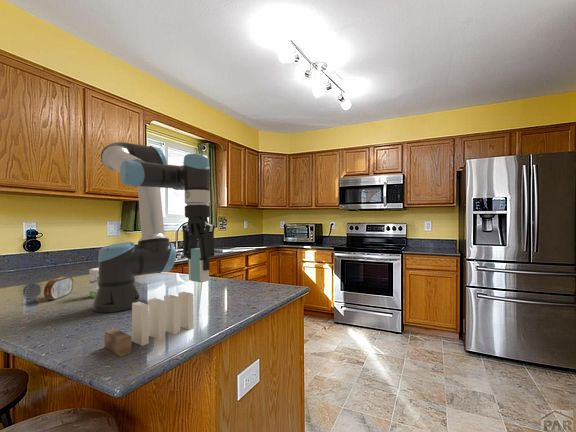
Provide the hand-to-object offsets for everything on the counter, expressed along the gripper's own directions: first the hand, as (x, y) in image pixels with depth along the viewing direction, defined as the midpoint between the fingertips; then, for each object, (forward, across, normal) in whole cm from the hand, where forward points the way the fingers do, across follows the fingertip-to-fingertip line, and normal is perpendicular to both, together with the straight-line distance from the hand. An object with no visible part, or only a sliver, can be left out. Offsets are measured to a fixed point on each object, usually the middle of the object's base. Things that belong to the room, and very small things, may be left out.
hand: (198, 280), depth 92 cm
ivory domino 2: (+13, 0, -13) cm, 19 cm away
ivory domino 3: (+13, 0, -9) cm, 16 cm away
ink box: (+13, -64, -3) cm, 66 cm away
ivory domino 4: (+13, 0, -4) cm, 14 cm away
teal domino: (0, 0, 0) cm, 0 cm away
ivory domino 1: (+13, 0, -18) cm, 22 cm away
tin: (+13, -76, -15) cm, 79 cm away
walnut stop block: (+13, 0, -24) cm, 27 cm away
